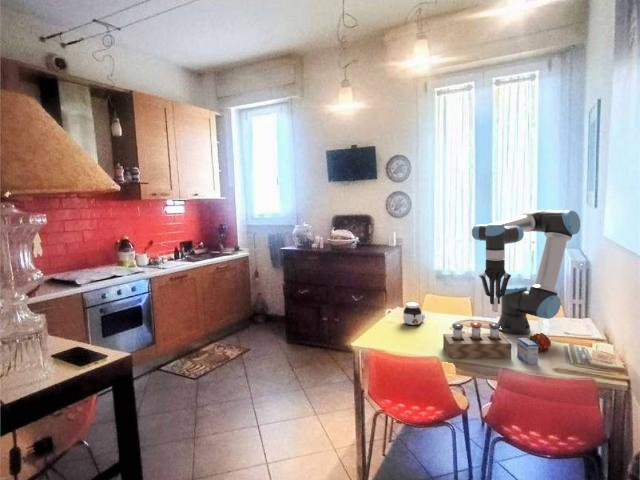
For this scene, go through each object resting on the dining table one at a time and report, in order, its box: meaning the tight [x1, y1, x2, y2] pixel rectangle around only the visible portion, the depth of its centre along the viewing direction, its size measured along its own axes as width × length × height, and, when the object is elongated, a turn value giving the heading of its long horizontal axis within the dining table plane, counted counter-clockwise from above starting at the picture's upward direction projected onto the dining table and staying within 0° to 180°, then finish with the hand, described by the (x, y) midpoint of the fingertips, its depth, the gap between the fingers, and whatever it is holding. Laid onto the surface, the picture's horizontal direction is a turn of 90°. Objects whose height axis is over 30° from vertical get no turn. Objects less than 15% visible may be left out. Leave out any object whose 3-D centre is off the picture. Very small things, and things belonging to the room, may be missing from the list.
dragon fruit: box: [528, 332, 552, 353], centre depth 173 cm, size 8×8×12 cm
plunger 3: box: [488, 322, 500, 341], centre depth 171 cm, size 5×5×9 cm
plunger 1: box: [451, 322, 464, 341], centre depth 172 cm, size 5×5×9 cm
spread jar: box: [402, 301, 426, 327], centre depth 215 cm, size 12×11×12 cm
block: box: [442, 332, 512, 360], centre depth 172 cm, size 26×12×7 cm, turn 85°
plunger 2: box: [470, 321, 482, 341], centre depth 172 cm, size 5×5×9 cm
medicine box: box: [516, 337, 539, 366], centre depth 163 cm, size 8×4×9 cm, turn 5°
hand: (494, 311), depth 170 cm, fingers closed
